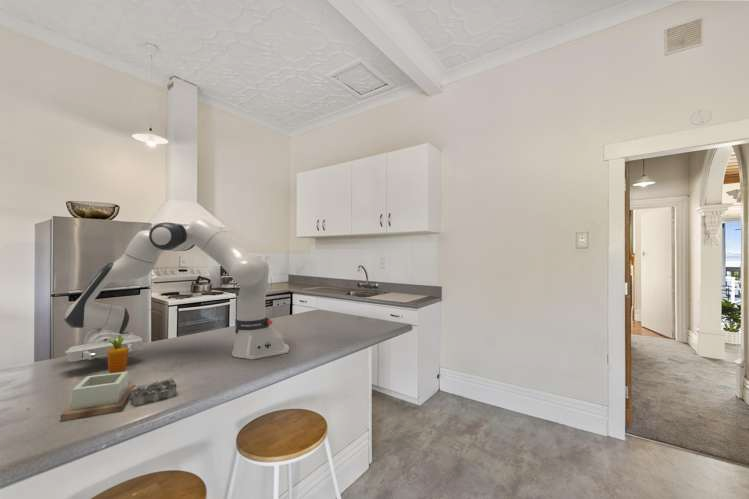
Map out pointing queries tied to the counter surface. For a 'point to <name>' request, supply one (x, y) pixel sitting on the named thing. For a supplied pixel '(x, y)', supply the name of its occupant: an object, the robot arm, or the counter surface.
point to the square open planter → (100, 390)
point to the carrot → (117, 356)
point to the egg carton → (153, 391)
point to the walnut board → (97, 408)
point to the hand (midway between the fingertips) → (110, 353)
